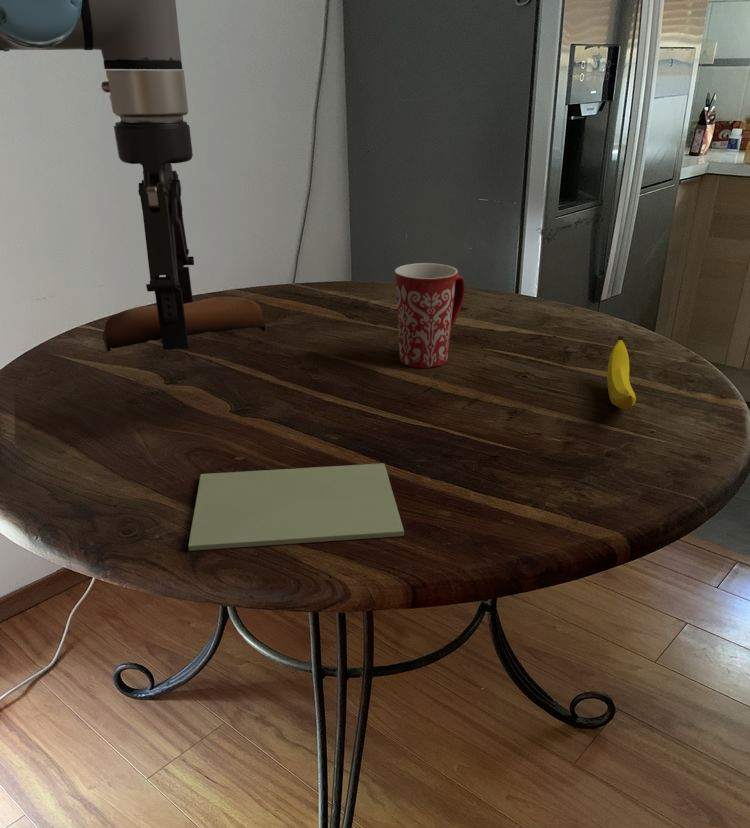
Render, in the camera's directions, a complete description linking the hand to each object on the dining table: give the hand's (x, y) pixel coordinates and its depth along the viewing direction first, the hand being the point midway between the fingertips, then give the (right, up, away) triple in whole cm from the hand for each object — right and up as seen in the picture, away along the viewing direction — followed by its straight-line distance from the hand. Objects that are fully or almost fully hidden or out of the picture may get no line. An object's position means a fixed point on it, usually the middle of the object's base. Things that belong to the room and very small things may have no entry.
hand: (180, 334), depth 86 cm
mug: (+32, +2, +27) cm, 41 cm away
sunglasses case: (0, 0, 0) cm, 1 cm away
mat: (+15, -20, -12) cm, 28 cm away
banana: (+55, -7, +11) cm, 56 cm away
